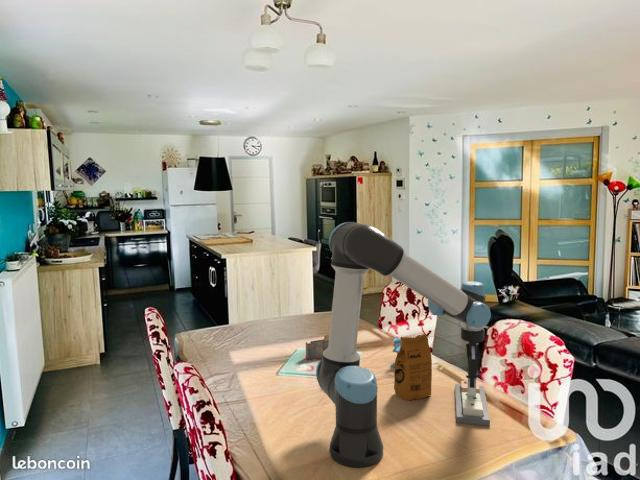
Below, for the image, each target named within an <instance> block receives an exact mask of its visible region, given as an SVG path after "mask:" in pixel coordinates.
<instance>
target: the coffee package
mask: <svg viewBox="0 0 640 480" xmlns="http://www.w3.org/2000/svg"><path fill="white" fill-rule="evenodd" d="M400 339H401V340H402V341H401V342H402V344H400V346H401V347H400V350H399V352H398V354H397V353H396V357H395V360H394V363H395V365H394V366H395V368H394V371H393V372H394V374H393V375H394V376H393V377H394V379H393V380H394V381H393V383H394V384H393V389H394V392H395V394H396V395H397V396H398V397H399V398H400V399H402V400H403V401H405V402H409V401H413V400H416V399H417V400H422V399H425V398H427V397H429V396H431V395H432V381H433V378H432V375H433V373H432V372H433V368H432V367H433V366H432V365H433V364H432V352H431V347H430V343H429V339H428V335H427V333H425V332H424V333H422V334H420V335H418V336H415V337H411V336H409V337H408V336H401V337H400Z"/></svg>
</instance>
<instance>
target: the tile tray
mask: <svg viewBox="0 0 640 480" xmlns="http://www.w3.org/2000/svg"><path fill="white" fill-rule="evenodd" d="M479 394H480V398H481V402H482V407H483V417H479V416H469V415H463V408H462V394H461V383H455V384H454V395H455V413H456V415H455V416H456V417H455V418H456V419H455V420H456V423H458V424H464V423H466V425H474V424H476V425H477V426H483V425H485V426H484V427H490V426H491V423H490V422H491V419H490V418H491V417H490V413H489V408H488V403H487V398H486V392H485V387H484V386H483V385H479ZM476 425H475V426H476Z"/></svg>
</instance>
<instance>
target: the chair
mask: <svg viewBox="0 0 640 480" xmlns="http://www.w3.org/2000/svg"><path fill="white" fill-rule="evenodd" d="M392 341H393V345H394V348H393V349H392V353H396V355H397V354H398V352H399V350H400V347H401V345H402V342H401V341H402V340H401V338H399V337H394V338H393V340H392ZM394 365H395V362H393V363H390V368H394V369H395V366H394Z"/></svg>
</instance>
